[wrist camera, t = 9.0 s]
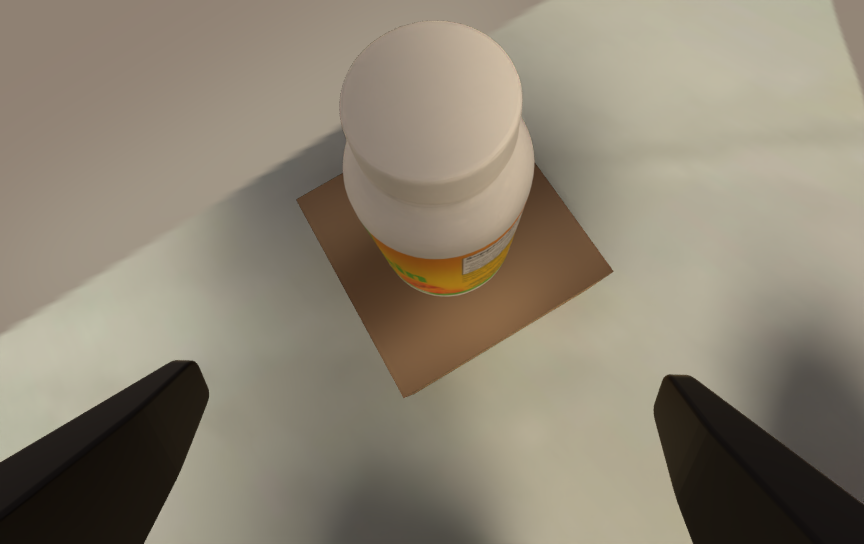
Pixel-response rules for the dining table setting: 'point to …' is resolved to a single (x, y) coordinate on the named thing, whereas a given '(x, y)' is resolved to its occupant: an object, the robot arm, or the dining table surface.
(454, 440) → the dining table surface
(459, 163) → the supplement bottle
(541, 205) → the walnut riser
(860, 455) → the dining table surface
